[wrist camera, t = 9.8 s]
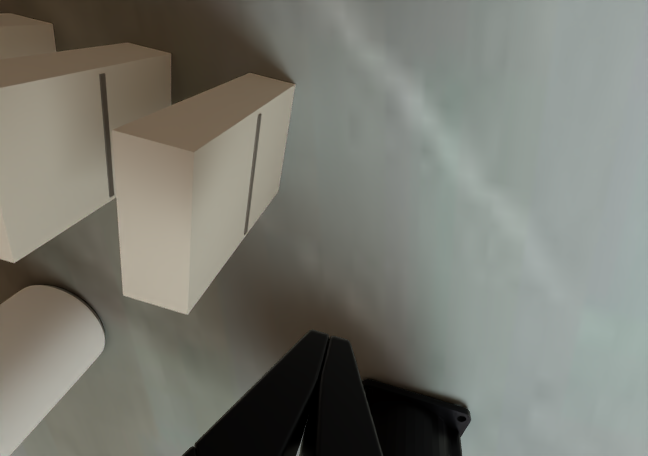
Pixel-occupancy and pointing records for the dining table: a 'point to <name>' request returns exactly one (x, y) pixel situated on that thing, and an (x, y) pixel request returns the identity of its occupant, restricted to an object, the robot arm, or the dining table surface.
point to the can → (41, 355)
